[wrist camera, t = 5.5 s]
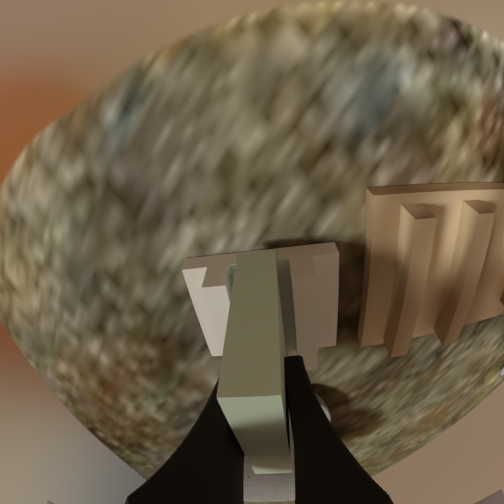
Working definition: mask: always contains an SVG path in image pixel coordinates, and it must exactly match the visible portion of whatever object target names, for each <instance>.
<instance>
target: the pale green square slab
mask: <svg viewBox="0 0 504 504" xmlns="http://www.w3.org/2000/svg"><path fill="white" fill-rule="evenodd" d="M284 357H288V355H287V346H286V337H285V328H284V319H283V310H282V302H281V293H280V285H279V276H278V268H277V260H276V252H275V250H266V251H257V252H248V253H239V254H237V261H236V267H235V274H234V280H233V287H232V293H231V300H230V307H229V313H228V320H227V327H226V333H225V340H224V347H223V354H222V361H221V368H220V375H219V382H218V389H217V396H216V398H217V400H218V402H219V404H220V406H221V408H222V411H223V413H224V415H225V417H226V419H227V421H228V423H229V425H230V427H231V429H232V431H233V433H234V435H235V437H236V439H237V441H238V442H239V444H240V446H241V448H242V450H243V452H244V454H245V456H246V458H247V459H248V461H249V463H250V465H251V467H252V469H253V470H254V472H255V474H272V473H291V472H292V439H291V420H290V413H289V406H288V397H287V389H286V381H285V369H284Z"/></svg>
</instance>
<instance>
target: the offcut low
mask: <svg viewBox="0 0 504 504" xmlns="http://www.w3.org/2000/svg"><path fill="white" fill-rule="evenodd" d="M500 301H501V303H502V304H503V305H504V289H503V292H502V295H501V297H500Z"/></svg>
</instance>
